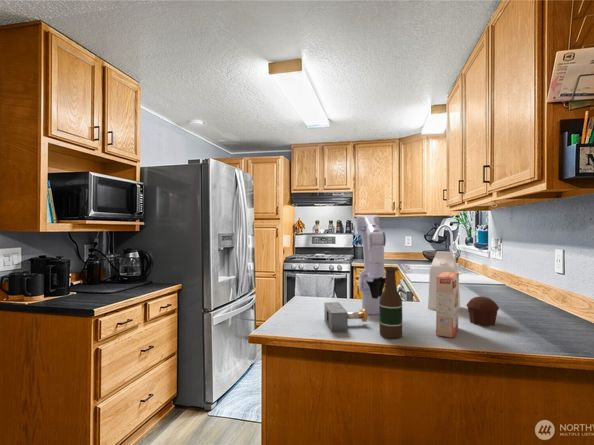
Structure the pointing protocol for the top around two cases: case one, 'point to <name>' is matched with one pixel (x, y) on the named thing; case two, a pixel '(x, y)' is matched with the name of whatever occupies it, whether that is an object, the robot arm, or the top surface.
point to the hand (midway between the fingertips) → (376, 297)
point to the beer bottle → (390, 308)
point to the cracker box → (447, 304)
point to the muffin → (482, 311)
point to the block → (336, 317)
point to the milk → (438, 266)
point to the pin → (358, 315)
